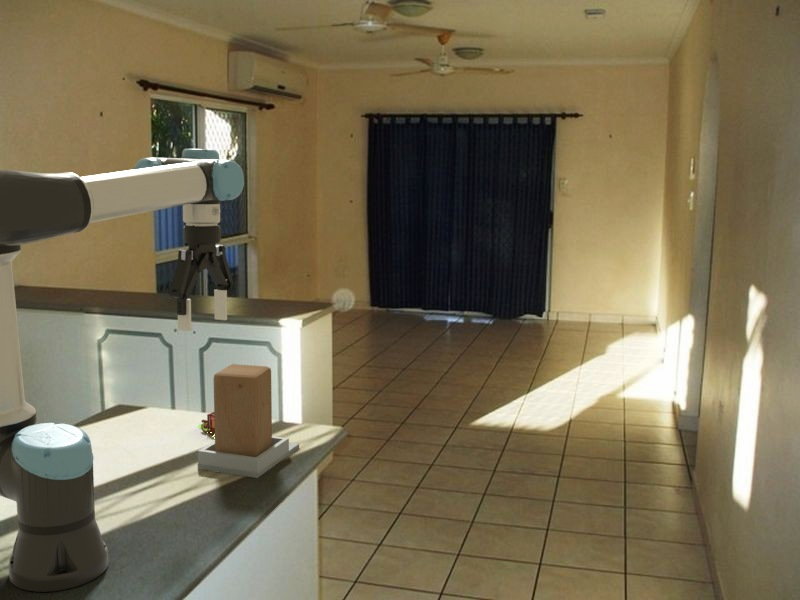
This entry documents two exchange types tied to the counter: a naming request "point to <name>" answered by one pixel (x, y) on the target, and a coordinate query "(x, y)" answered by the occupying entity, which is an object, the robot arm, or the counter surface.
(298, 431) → the counter surface
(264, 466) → the open square tray
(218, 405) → the wooden block
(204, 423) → the wagon
